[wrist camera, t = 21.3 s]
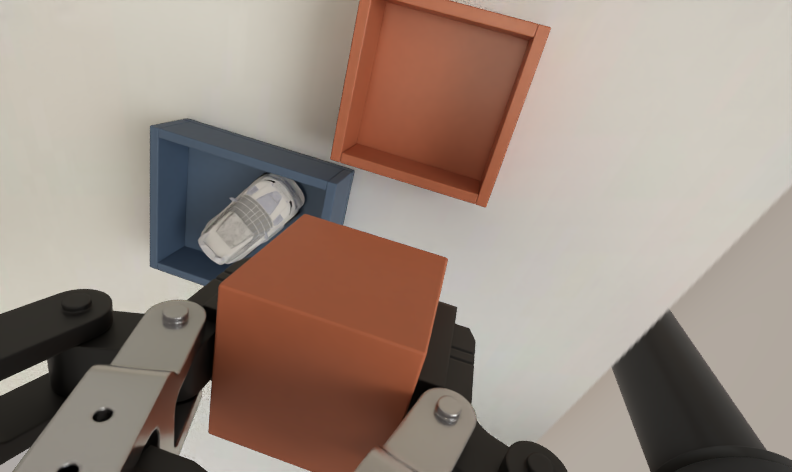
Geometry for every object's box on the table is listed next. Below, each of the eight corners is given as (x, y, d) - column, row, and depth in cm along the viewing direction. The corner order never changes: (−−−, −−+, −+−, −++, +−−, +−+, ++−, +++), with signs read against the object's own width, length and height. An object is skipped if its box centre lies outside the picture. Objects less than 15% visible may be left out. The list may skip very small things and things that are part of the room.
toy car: (315, 202, 29) (297, 217, 26) (242, 261, 32) (219, 279, 29) (279, 158, 28) (257, 169, 26) (208, 223, 32) (181, 238, 29)
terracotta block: (448, 257, 12) (427, 354, 8) (410, 373, 14) (378, 497, 10) (304, 212, 13) (216, 284, 9) (285, 330, 15) (207, 434, 11)
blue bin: (354, 170, 28) (336, 184, 25) (327, 297, 32) (309, 323, 29) (186, 118, 29) (149, 125, 26) (182, 247, 34) (149, 267, 30)
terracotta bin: (543, 31, 23) (551, 27, 20) (486, 190, 27) (485, 207, 24) (381, -12, 24) (363, -23, 21) (348, 147, 28) (329, 159, 24)
